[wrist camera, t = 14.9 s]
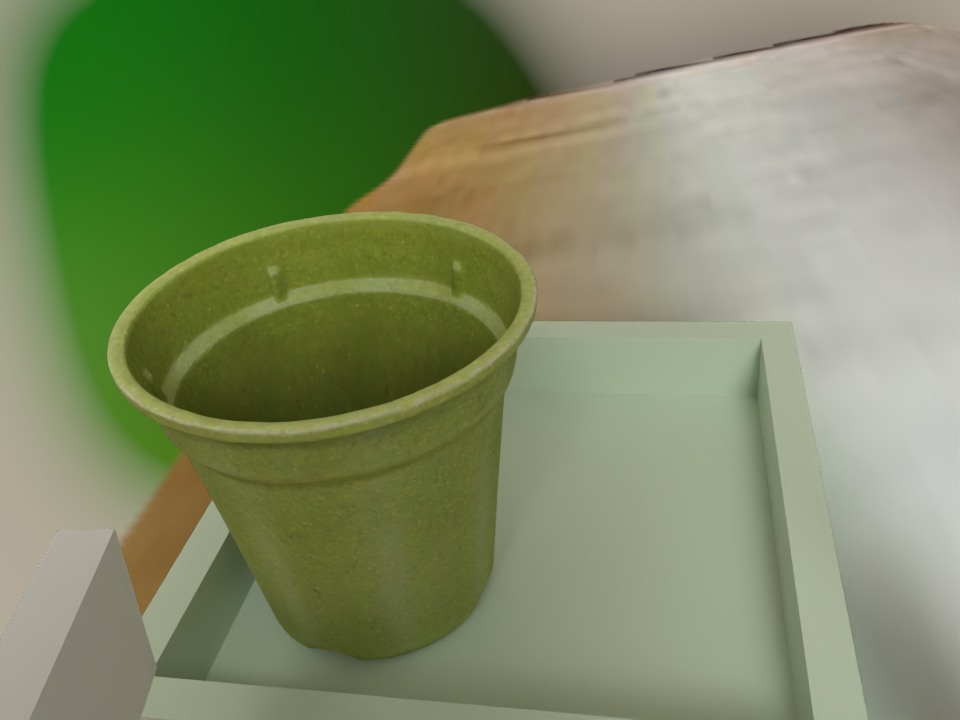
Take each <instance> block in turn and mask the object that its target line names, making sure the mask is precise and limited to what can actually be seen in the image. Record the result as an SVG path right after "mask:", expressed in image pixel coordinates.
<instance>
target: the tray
mask: <svg viewBox="0 0 960 720" xmlns="http://www.w3.org/2000/svg"><path fill="white" fill-rule="evenodd" d="M142 620H143V623H144V627H145V630H146V633H147V636H148V640H149V643H150V646H151V650H152V653H153V656H154V660H155V663H156V666H157V669H156V672H155V675H154V678H153V682H152V685H151V688H150V691H149V694H148V697H147V700H146V703H145V706H144V709H143V712H142V715H141V718H140V720H868V716H867V711H866V706H865V701H864V696H863V690H862V685H861V680H860V675H859V670H858V664H857V659H856V654H855V649H854V644H853V638H852V633H851V628H850V623H849V618H848V612H847V607H846V602H845V597H844V592H843V586H842V581H841V576H840V571H839V566H838V560H837V555H836V550H835V545H834V540H833V534H832V529H831V524H830V519H829V514H828V508H827V503H826V498H825V493H824V488H823V482H822V477H821V472H820V467H819V462H818V457H817V451H816V446H815V441H814V436H813V431H812V425H811V420H810V415H809V410H808V405H807V399H806V394H805V389H804V384H803V379H802V373H801V368H800V363H799V358H798V353H797V347H796V342H795V337H794V332H793V327H792V322H614V321H533V322H532V325H531V327H530V329H529V332H528V333H527V335H526V337H525V338H524V340H523V342H522V343H521V344H520V346H519V347H518V348H517V357H516V363H515V367H514V372H513V375H512V378H511V381H510V383H509V385H508V388H507V390H506V391H505V395H504V406H503V421H502V436H501V450H500V464H499V478H498V492H497V510H496V528H495V544H494V560H493V567H492V571H491V574H490V576H489V579H488V581H487V584H486V586H485V588H484V590H483V593H482V595H481V597H480V599H479V601H478V603H477V606H476V607H475V608H474V610H473V611H472V613H471V614H470V615H469V616H468V617H467V618H466V619H465V620H464V621H463V622H462V623H461V624H460V625H459V626H457V627H456V628H455V629H453V630H452V631H451V632H449V633H448V634H446V635H445V636H443V637H442V638H440V639H438V640H436V641H435V642H433V643H431V644H429V645H427V646H425V647H423V648H420V649H418V650H415V651H412V652H409V653H406V654H403V655H399V656H395V657H390V658H383V659H374V660H363V659H359V658H355V657H352V656H349V655H346V654H343V653H339V652H335V651H329V650H324V649H318V648H314V649H311V648H308V647H306V646H304V645H302V644H300V643H299V642H298V641H296V640H295V639H293V638H292V637H291V636H290V635H289V634H288V633H287V632H286V631H285V630H284V629H283V627H282V626H281V625H280V623H279V622H278V620H277V619H276V617H275V615H274V613H273V611H272V609H271V607H270V605H269V604H268V602H267V600H266V598H265V596H264V595H263V593H262V591H261V589H260V587H259V585H258V583H257V581H256V580H255V578H254V576H253V574H252V572H251V570H250V568H249V566H248V565H247V563H246V561H245V559H244V557H243V555H242V553H241V551H240V550H239V548H238V546H237V544H236V542H235V540H234V538H233V537H232V535H231V533H230V531H229V529H228V527H227V525H226V524H225V522H224V520H223V518H222V516H221V515H220V513H219V511H218V509H217V507H216V506H215V504H214V502H213V500H212V501H211V503H210V505H209V506H208V508H207V510H206V511H205V513H204V515H203V516H202V518H201V519H200V521H199V523H198V524H197V526H196V528H195V529H194V531H193V533H192V534H191V536H190V538H189V539H188V541H187V543H186V544H185V546H184V548H183V549H182V551H181V553H180V554H179V556H178V558H177V559H176V561H175V563H174V564H173V566H172V568H171V569H170V571H169V573H168V574H167V576H166V578H165V579H164V581H163V583H162V584H161V586H160V588H159V589H158V591H157V593H156V594H155V596H154V598H153V599H152V601H151V603H150V604H149V606H148V608H147V609H146V611H145V613H144V614H143V616H142Z"/></svg>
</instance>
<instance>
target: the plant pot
mask: <svg viewBox="0 0 960 720" xmlns="http://www.w3.org/2000/svg"><path fill="white" fill-rule="evenodd" d="M536 306H537V285H536V279H535V276H534V274H533V271H532V269H531V267H530V265H529V264H528V262H527V261H526V260H525V258H524V257H523V256H522V255H521V254H520V253H519V252H518V251H517V250H515V249H514V248H513V247H512V246H511V245H510V244H509V243H507V242H506V241H504V240H503V239H501V238H499V237H498V236H496V235H495V234H493V233H491V232H489V231H487V230H485V229H482V228H480V227H477V226H475V225H471V224H469V223H466V222H460V221H456V220H453V219H450V218H442V217H439V216H434V215H426V214H410V213H404V212H393V211H389V212H373V211H372V212H356V213H344V214H337V215H327V216H320V217H314V218H309V219H303V220H297V221H290V222H286V223H282V224H278V225H273V226H270V227H267V228H261V229H259V230H256V231H253V232H249V233H246V234H242V235H240V236H237V237H234V238H232V239H229V240H227V241H224V242H222V243H219V244H217V245H215V246H213V247H211V248H209V249H206V250H204V251H202V252H200V253H198V254H196V255H194V256H192V257H191V258H190V259H188V260H186V261H184V262H182V263H180V264H178V265H176V266H175V267H173V268H172V269H170V270H169V271H167V272H166V273H165V274H163V275H162V276H160V277H159V278H157V279H156V280H154V281H153V282H152V283H151V284H150V285H148V286H147V287H146V288H145V289H143V290H142V291H141V292H140V293H139V294H138V295H137V296H136V297H135V298H134V299H133V300H132V302H131V303H130V304H129V305H128V307H127V308H126V309H125V310H124V312H123V313H122V315H121V316H120V317H119V319H118V321H117V323H116V325H115V326H114V328H113V331H112V333H111V336H110V340H109V345H108V356H107V358H108V364H109V368H110V372H111V374H112V376H113V378H114V380H115V383H116V385H117V387H118V388H119V390H120V392H121V393H122V394H123V395H124V397H125V398H126V399H127V400H128V401H129V402H130V403H131V404H132V405H133V406H134V407H135V408H136V409H137V410H139V411H140V412H142V413H143V414H144V415H145V416H147V417H149V418H151V419H153V420H155V421H156V422H158V424H159V425H160V427H161V428H162V430H163V432H164V433H165V434H166V436H167V437H168V439H169V440H170V441H171V442H172V443H173V444H174V445H175V446H176V447H177V448H179V449H180V450H181V451H182V452H183V453H184V454H185V455H187V456H188V458H189V459H190V461H191V463H192V465H193V466H194V468H195V470H196V471H197V473H198V475H199V477H200V478H201V480H202V482H203V484H204V485H205V487H206V489H207V491H208V493H209V495H210V497H211V498H212V500H213V502H214V504H215V506H216V507H217V509H218V511H219V513H220V515H221V516H222V518H223V520H224V522H225V524H226V525H227V527H228V529H229V531H230V533H231V535H232V537H233V538H234V540H235V542H236V544H237V546H238V548H239V550H240V551H241V553H242V555H243V557H244V559H245V561H246V563H247V565H248V566H249V568H250V570H251V572H252V574H253V576H254V578H255V580H256V581H257V583H258V585H259V587H260V589H261V591H262V593H263V595H264V596H265V598H266V600H267V602H268V604H269V605H270V607H271V609H272V611H273V613H274V615H275V617H276V619H277V620H278V622H279V623H280V625H281V626H282V627H283V629H284V630H285V631H286V632H287V633H288V634H289V635H290V636H291V637H292V638H293V639H295V640H296V641H298V642H299V643H300V644H302V645H304V646H306V647H308V648H311V649H314V648H318V649H324V650H329V651H335V652H339V653H343V654H346V655H349V656H352V657H355V658H359V659H363V660H374V659H383V658H390V657H395V656H399V655H403V654H406V653H409V652H412V651H415V650H418V649H420V648H423V647H425V646H427V645H429V644H431V643H433V642H435V641H436V640H438V639H440V638H442V637H443V636H445V635H446V634H448V633H449V632H451V631H452V630H453V629H455V628H456V627H457V626H459V625H460V624H461V623H462V622H463V621H464V620H465V619H466V618H467V617H468V616H469V615H470V614H471V613H472V611H473V610H474V608H475V607H476V606H477V603H478V601H479V599H480V597H481V595H482V593H483V590H484V588H485V586H486V584H487V581H488V579H489V576H490V574H491V571H492V567H493V560H494V544H495V528H496V510H497V492H498V478H499V464H500V450H501V436H502V421H503V406H504V395H505V391H506V390H507V388H508V385H509V383H510V381H511V378H512V375H513V372H514V367H515V363H516V357H517V348H518V347H519V346H520V344H521V343H522V342H523V340H524V338H525V337H526V335H527V333H528V332H529V329H530V327H531V325H532V322H533V319H534V316H535V312H536Z"/></svg>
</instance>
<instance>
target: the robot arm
mask: <svg viewBox="0 0 960 720" xmlns="http://www.w3.org/2000/svg"><path fill="white" fill-rule="evenodd" d="M156 669H157V666H156V663H155V660H154V656H153V653H152V650H151V646H150V643H149V640H148V636H147V633H146V630H145V627H144V623H143V620H142V617H141V613H140V610H139V607H138V603H137V600H136V597H135V594H134V590H133V587H132V584H131V580H130V577H129V574H128V571H127V567H126V564H125V561H124V557H123V554H122V551H121V547H120V544H119V541H118V538H117V534H116V531H115V528H110V529H86V530H61V531H57V532H56V534H55V535H54V537H53V539H52V541H51V543H50V545H49V547H48V549H47V551H46V553H45V554H44V556H43V558H42V560H41V562H40V564H39V566H38V568H37V570H36V572H35V574H34V576H33V578H32V579H31V581H30V583H29V585H28V587H27V589H26V591H25V593H24V595H23V596H22V598H21V600H20V602H19V604H18V606H17V608H16V610H15V612H14V614H13V616H12V618H11V619H10V622H9V623H8V625H7V627H6V629H5V631H4V633H3V635H2V637H1V638H0V720H140V718H141V715H142V712H143V709H144V706H145V703H146V700H147V697H148V694H149V691H150V688H151V685H152V682H153V678H154V675H155V672H156Z"/></svg>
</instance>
